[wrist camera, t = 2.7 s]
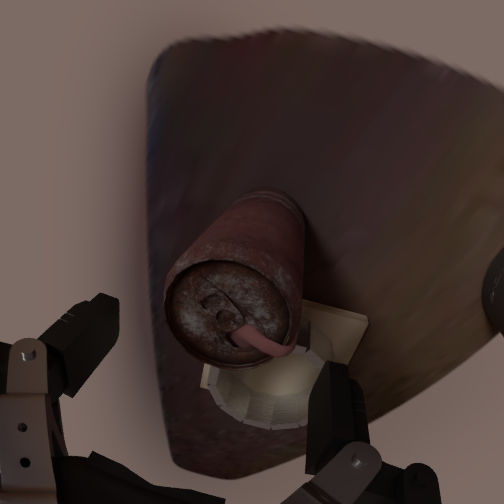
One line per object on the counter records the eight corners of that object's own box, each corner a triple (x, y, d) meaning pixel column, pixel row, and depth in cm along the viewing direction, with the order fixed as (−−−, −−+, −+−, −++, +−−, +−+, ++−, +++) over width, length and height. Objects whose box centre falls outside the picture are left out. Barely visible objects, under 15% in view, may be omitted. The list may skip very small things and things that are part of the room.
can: (291, 271, 27) (274, 395, 14) (219, 244, 27) (146, 345, 14) (320, 204, 24) (333, 289, 12) (243, 175, 25) (171, 227, 12)
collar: (352, 330, 27) (357, 359, 23) (311, 409, 31) (310, 438, 27) (231, 297, 27) (219, 323, 24) (211, 383, 31) (200, 410, 28)
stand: (366, 315, 27) (368, 323, 26) (317, 409, 32) (317, 417, 31) (224, 276, 28) (221, 282, 27) (203, 379, 33) (200, 386, 32)
